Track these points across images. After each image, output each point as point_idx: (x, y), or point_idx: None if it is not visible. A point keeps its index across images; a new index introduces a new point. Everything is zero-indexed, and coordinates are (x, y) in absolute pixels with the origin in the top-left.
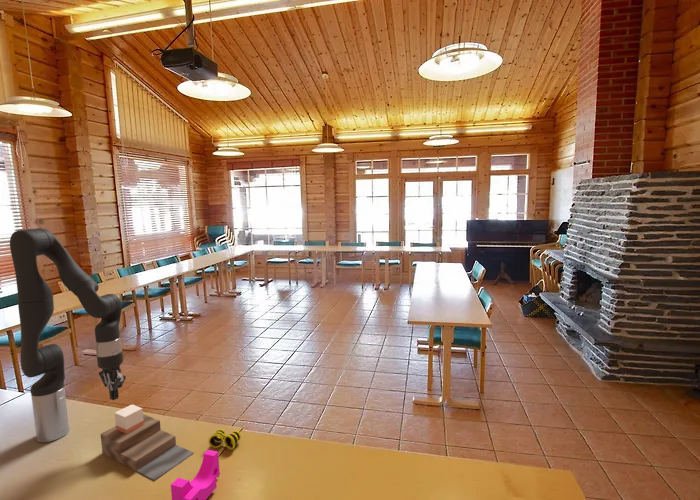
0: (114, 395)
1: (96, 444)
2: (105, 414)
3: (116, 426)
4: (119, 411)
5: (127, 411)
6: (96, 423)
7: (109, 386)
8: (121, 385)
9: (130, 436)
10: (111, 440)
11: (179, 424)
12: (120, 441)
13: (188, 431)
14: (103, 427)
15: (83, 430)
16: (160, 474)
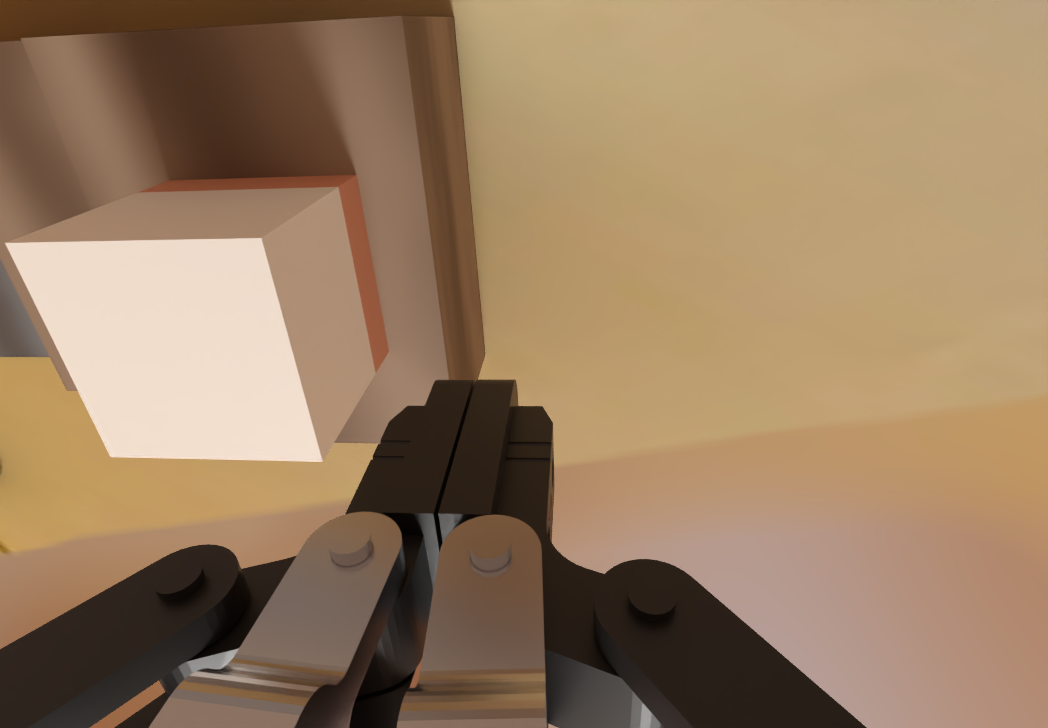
0: (380, 454)
1: (649, 61)
2: (1040, 357)
3: (331, 183)
4: (242, 291)
5: (156, 340)
6: (994, 244)
7: (432, 603)
8: (144, 714)
9: (85, 174)
10: (183, 29)
11: (343, 491)
12: (53, 64)
13: (220, 469)
14: (855, 240)
15: (1025, 117)
16: None
